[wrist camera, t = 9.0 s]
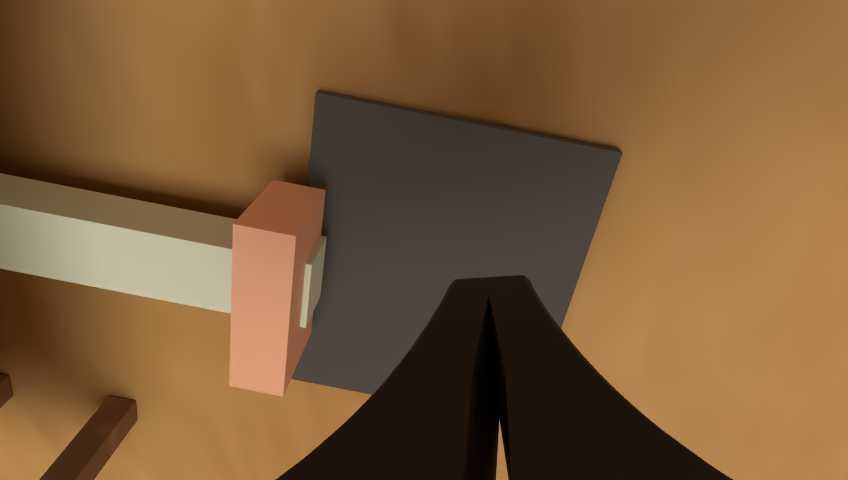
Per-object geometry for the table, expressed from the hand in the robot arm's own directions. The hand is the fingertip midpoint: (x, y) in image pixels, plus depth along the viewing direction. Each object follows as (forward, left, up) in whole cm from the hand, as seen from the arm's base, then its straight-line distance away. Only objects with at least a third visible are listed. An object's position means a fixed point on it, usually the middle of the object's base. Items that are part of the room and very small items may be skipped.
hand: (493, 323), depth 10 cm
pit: (+1, +5, -10) cm, 11 cm away
